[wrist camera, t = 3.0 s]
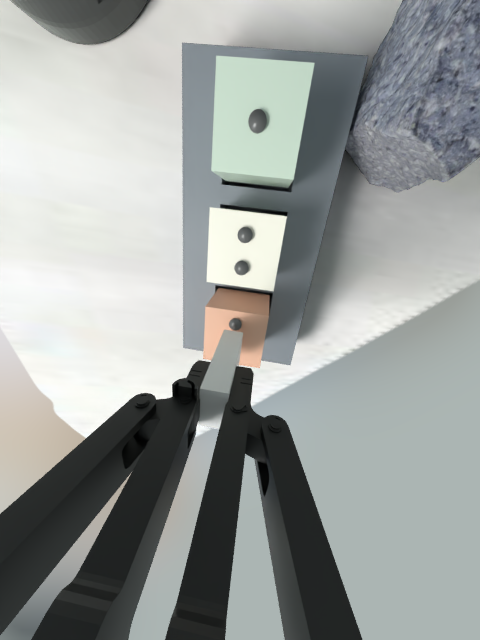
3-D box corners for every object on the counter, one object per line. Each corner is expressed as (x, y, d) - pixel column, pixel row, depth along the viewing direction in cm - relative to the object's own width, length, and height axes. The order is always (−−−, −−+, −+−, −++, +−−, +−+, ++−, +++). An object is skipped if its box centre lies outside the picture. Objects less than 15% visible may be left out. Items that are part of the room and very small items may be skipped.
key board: (201, 78, 19) (182, 42, 15) (347, 90, 18) (368, 55, 14) (195, 329, 30) (183, 347, 25) (287, 343, 29) (290, 365, 25)
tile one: (231, 99, 16) (215, 53, 11) (302, 105, 16) (315, 60, 11) (226, 180, 18) (210, 170, 14) (288, 187, 18) (293, 179, 13)
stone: (410, 14, 17) (538, 73, 16) (325, 158, 23) (413, 211, 22) (451, -216, 8) (782, -127, 6) (291, 125, 14) (442, 215, 12)
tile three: (218, 287, 22) (204, 307, 18) (269, 294, 22) (268, 317, 17) (215, 331, 24) (202, 360, 20) (261, 339, 24) (259, 369, 19)
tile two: (224, 208, 19) (208, 207, 15) (283, 215, 19) (287, 216, 14) (220, 267, 21) (205, 282, 17) (273, 274, 21) (273, 292, 16)
